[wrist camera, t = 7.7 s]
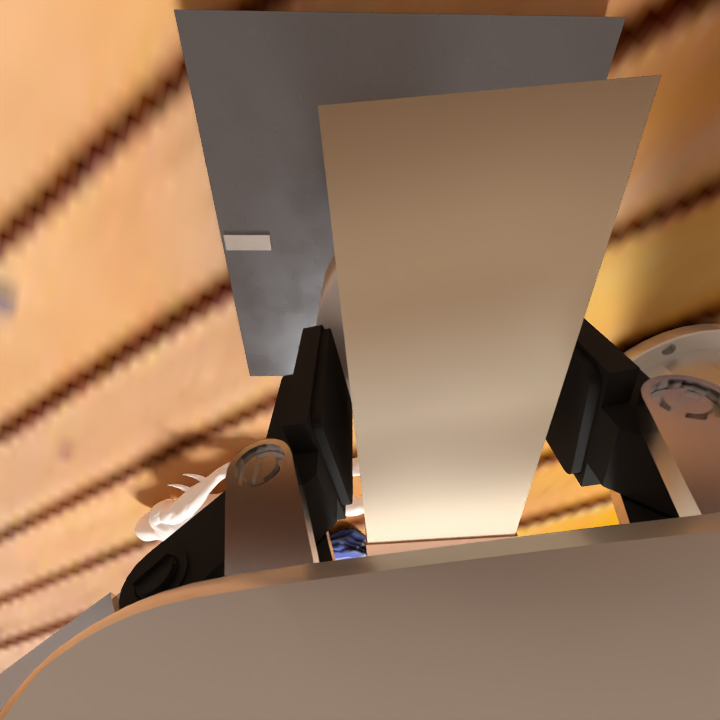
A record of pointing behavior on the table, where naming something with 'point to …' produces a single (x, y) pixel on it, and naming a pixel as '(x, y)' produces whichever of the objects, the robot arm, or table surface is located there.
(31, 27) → the table surface
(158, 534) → the superhero figure
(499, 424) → the beige curved block
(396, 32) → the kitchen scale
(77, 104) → the table surface
